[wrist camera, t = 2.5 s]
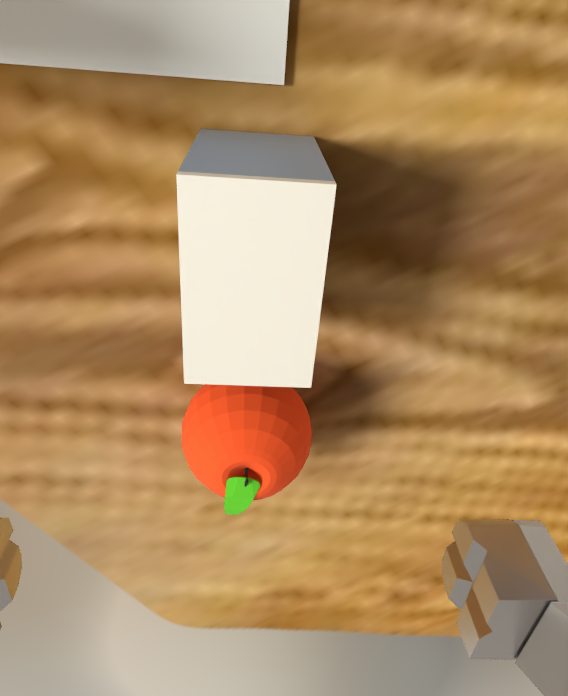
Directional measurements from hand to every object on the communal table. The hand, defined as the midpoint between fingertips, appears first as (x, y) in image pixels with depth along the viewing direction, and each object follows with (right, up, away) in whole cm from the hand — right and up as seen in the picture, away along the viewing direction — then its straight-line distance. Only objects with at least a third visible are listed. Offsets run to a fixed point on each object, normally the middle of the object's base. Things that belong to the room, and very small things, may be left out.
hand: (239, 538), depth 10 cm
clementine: (-1, +1, +21) cm, 21 cm away
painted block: (-1, +10, +15) cm, 18 cm away
